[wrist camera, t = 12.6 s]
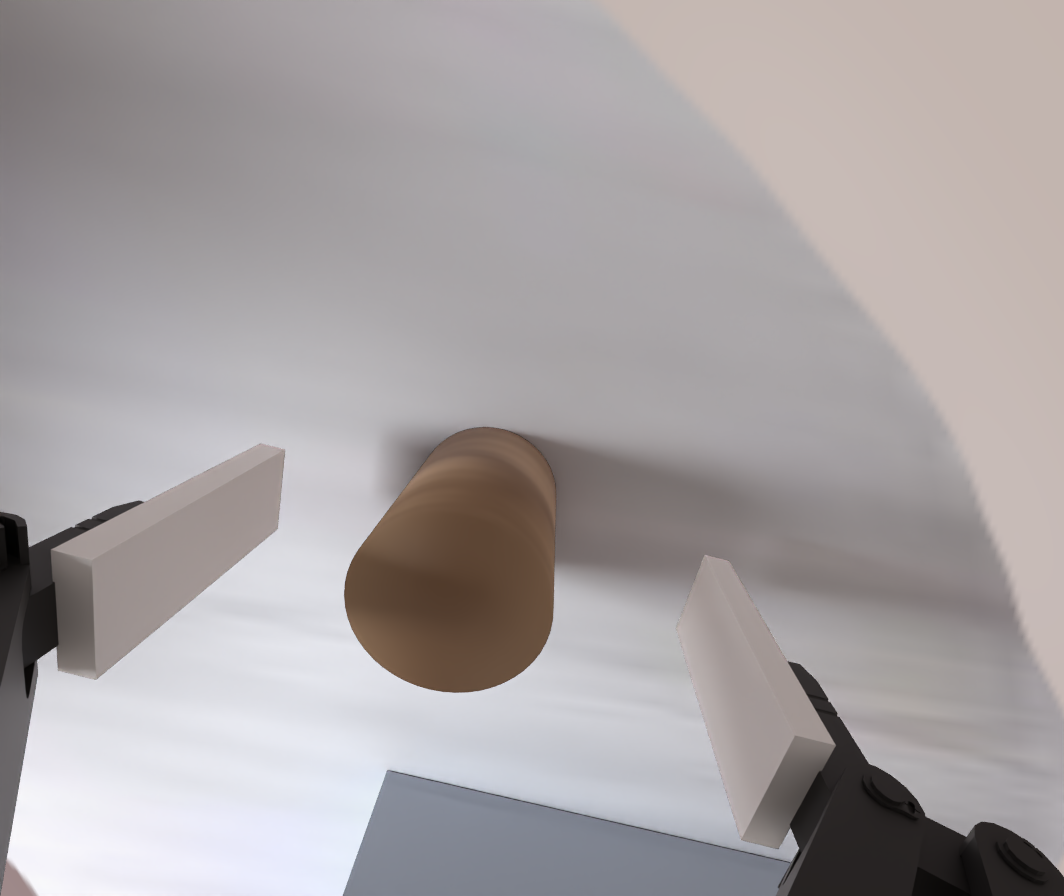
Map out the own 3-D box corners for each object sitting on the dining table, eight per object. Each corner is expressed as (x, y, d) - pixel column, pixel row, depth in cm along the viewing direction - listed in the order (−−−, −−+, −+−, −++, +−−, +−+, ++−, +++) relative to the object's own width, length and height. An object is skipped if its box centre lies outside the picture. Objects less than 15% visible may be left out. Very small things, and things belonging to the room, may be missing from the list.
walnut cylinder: (409, 536, 20) (332, 666, 13) (432, 412, 18) (358, 488, 11) (537, 567, 20) (526, 712, 13) (571, 446, 18) (577, 541, 12)
